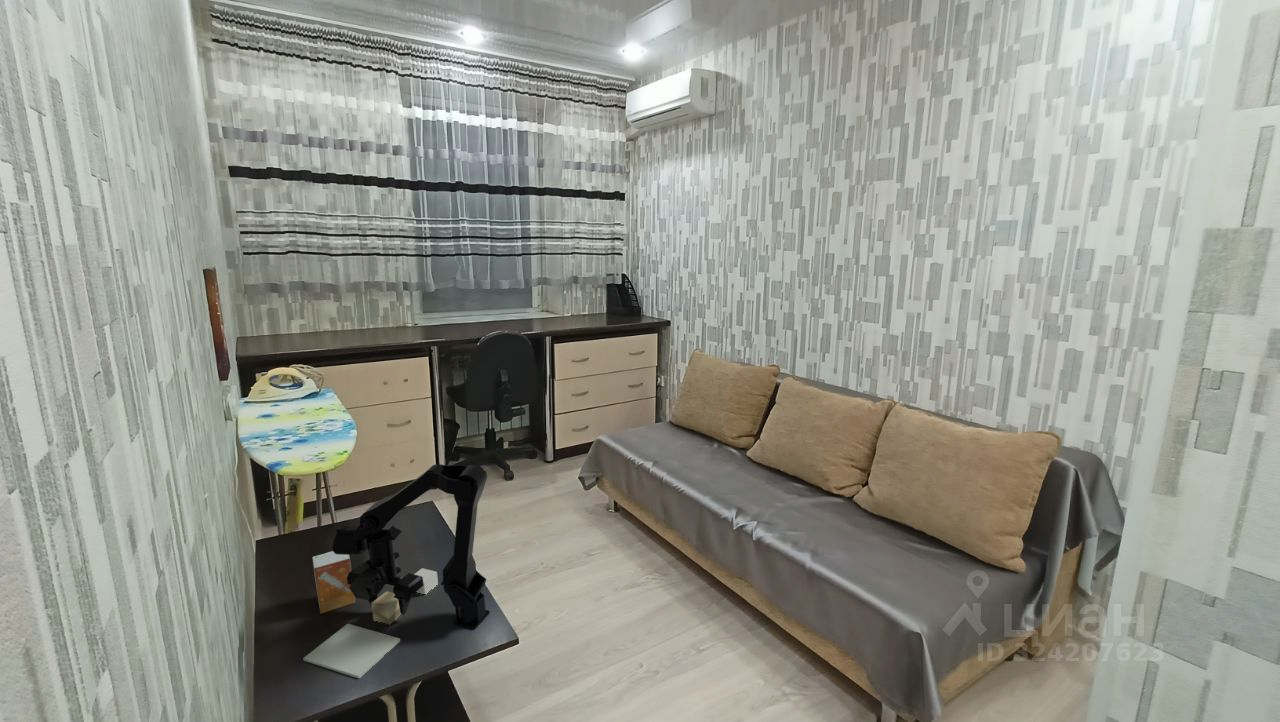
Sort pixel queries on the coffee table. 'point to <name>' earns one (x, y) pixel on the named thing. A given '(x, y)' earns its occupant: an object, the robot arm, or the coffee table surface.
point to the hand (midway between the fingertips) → (388, 610)
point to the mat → (352, 650)
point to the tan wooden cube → (386, 608)
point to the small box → (332, 581)
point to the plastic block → (427, 580)
